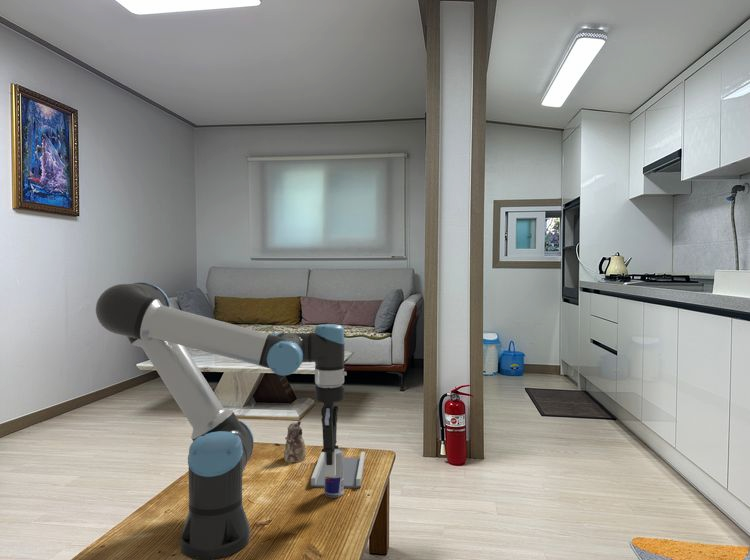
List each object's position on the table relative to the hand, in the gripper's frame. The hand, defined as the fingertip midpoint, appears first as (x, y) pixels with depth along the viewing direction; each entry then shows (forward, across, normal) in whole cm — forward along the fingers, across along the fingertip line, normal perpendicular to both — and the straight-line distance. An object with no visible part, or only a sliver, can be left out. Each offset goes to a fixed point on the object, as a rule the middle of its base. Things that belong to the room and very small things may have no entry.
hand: (330, 475), depth 132 cm
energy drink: (+9, +10, 0) cm, 13 cm away
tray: (+9, +25, 0) cm, 26 cm away
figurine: (+9, +36, +16) cm, 40 cm away
